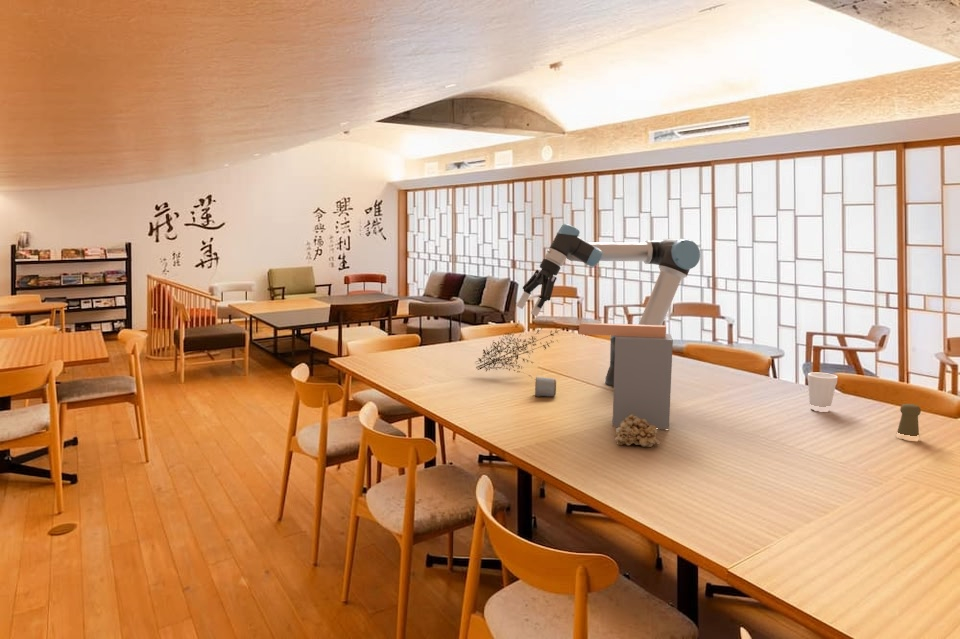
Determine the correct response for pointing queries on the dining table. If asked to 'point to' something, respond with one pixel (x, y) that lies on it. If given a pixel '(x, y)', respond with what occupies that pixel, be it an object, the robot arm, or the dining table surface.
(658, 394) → the stand
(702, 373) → the dining table surface
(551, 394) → the ceramic mug
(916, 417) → the olive pepper mill
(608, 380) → the robot arm
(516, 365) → the dried plant
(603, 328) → the rail
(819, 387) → the foam cup
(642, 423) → the mineral formation
